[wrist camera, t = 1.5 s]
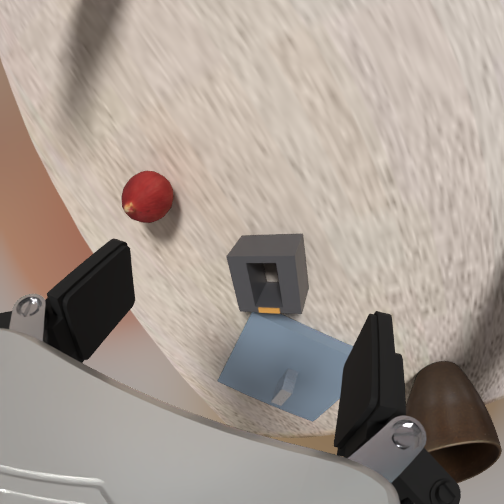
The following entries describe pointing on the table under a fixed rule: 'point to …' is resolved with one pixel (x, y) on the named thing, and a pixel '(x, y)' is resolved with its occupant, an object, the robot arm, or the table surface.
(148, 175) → the onion
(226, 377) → the base board
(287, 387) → the block
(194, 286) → the table surface
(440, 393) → the plant pot
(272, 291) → the hollow gray block
